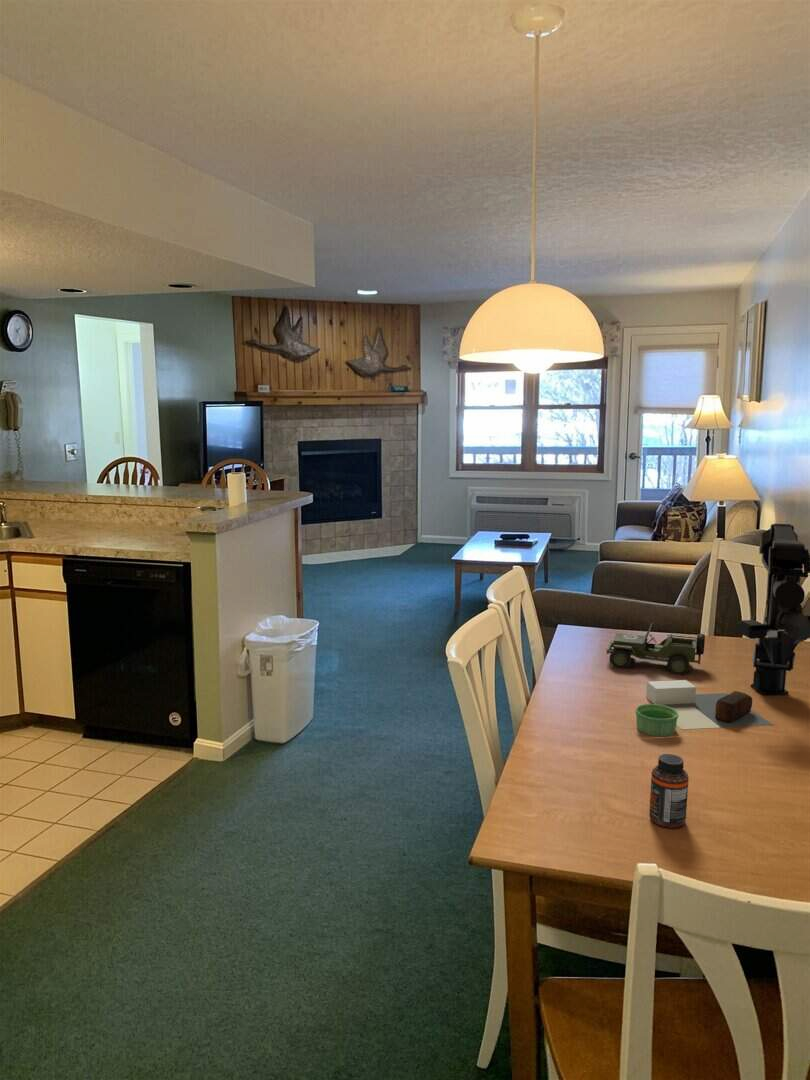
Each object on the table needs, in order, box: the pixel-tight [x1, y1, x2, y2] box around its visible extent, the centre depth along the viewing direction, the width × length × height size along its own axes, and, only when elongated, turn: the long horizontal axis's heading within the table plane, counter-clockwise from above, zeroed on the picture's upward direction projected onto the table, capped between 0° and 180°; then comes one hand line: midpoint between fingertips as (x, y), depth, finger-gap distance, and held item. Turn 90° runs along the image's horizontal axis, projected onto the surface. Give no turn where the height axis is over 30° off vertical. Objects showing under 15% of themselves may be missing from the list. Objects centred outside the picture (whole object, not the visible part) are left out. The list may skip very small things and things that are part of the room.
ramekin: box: [635, 703, 679, 738], centre depth 171 cm, size 9×9×4 cm
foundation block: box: [645, 679, 697, 705], centre depth 188 cm, size 10×5×4 cm, turn 97°
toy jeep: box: [606, 622, 706, 676], centre depth 214 cm, size 12×25×11 cm, turn 69°
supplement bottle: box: [648, 753, 690, 829], centre depth 132 cm, size 6×6×11 cm
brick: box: [715, 690, 753, 723], centre depth 178 cm, size 11×4×5 cm, turn 133°
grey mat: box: [646, 692, 774, 730], centre depth 182 cm, size 22×20×1 cm
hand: (778, 664), depth 178 cm, fingers open, 2 cm apart
